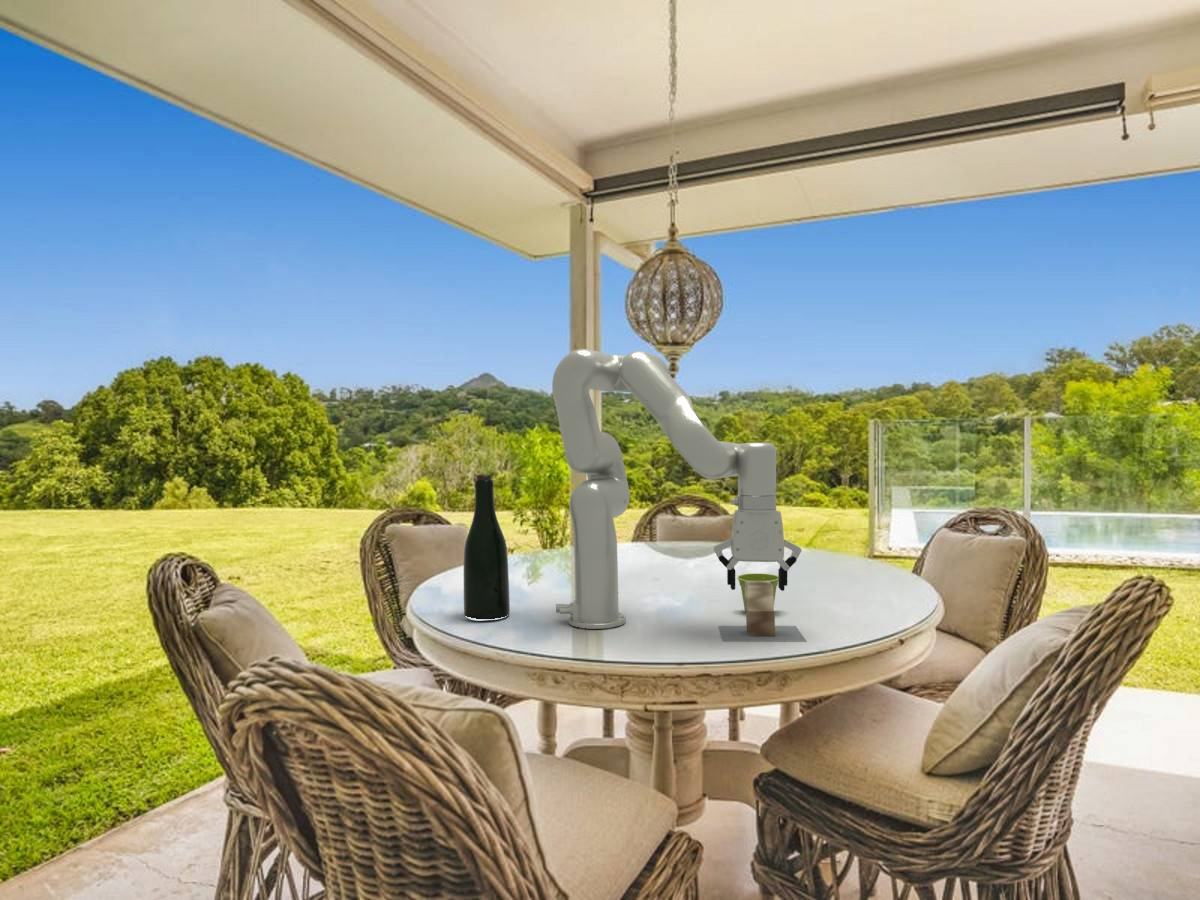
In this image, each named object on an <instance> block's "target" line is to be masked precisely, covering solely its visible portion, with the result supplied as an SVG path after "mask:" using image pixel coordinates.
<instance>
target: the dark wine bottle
mask: <svg viewBox="0 0 1200 900" xmlns="http://www.w3.org/2000/svg"><path fill="white" fill-rule="evenodd" d="M473 485H474V486H473V487H474V495H475V496H474V511H473V512H474V513H473V517H472V521H471V524H470V527H469V530H468V534H467V537H466V539H465V544H464V549H463V615H465V616H467V617H471V618H476V619H495V618H501V617H505V616H507V615H508V616H510V611H511V606H510V602H511V601H510V579H509V560H508V559H509V558H508V557H509V556H508V548H507V546H508V545H507V541H506V538H505V536H504V533H503V531H502V527H501V526H500V523H499V520H498V518H497V513H496V508H495V497H494V496H495V495H494V487H495V484H494V479H492V475H491V474H486V473H483V474H477V475H476V480H475V481H474V484H473ZM465 616H464V617H465ZM508 616H507V617H508Z"/></svg>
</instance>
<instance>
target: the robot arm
mask: <svg viewBox="0 0 1200 900" xmlns="http://www.w3.org/2000/svg"><path fill="white" fill-rule="evenodd" d="M551 383H552V385H551V386H552V387H551V390H552V396H553V397H552V398H553V401H554V405H555V409H556V413H557V419H558V425H559V430H560V435H561V441H562V444H563V449H564V456H565V459H566V463H567V465H568V466H569V468H570V470H572V471H573V472H576V473H578V474H582V475H583V474H584V475H586V476H587V479H586V480H583V481H582V482H580V483H579V484H577V485H576V486H575V487H574V489H573V490H572V492H571V495H570V497H569V504H568V505H569V514H570V519H571V526H572V532H573V535H572V536H573V552H574V555H573V556H574V557H573V558H574V591H575V592H574V593H575V595H574V596H575V600H574V601H573V602H570V603H569V604H566V603H565V604H564V603H555V613H559V615H567V614H568V615H569V614H570V615H569V617H568V624H569V625H570V626H572V627H574V626H575V628H578V627H579V629H585V628H586V630H602V629H611V628H616V627H620V626H623V625H624V624H625V623H626V621H627V619H626V615H625V614H623V613H621V612H620V611H619V610H620V609H619V576H618V575H619V572H618V571H619V570H618V569H619V568H618V563H619V561H618V541H617V538H618V537H617V532H616V527H615V526H616V525H615V522H614V518H617V517H620V516H621V515H623V514H624V513H625V512H626V510H627V509H628V507H629V504H630V499H631V498H630V495H631V493H630V486H629V483H628V482H629V481H628V478H627V472H626V468H625V465H624V464H625V463H624V459H623V453H622V451H621V448H620V446H619V443H618V441H617V440H616V439H615V437H613V435H611V434H610V433H608V432H604V431H601V429H600V427H599V422H598V418H597V411H596V407H595V405H594V402H593V400H592V398H591V396H590V390H595V391H602V392H618V393H619V392H620V393H623V392H624V393H631V394H632V395H633V397H635V399H636V400H638V402H639V403H640V404H641V405H642V406H643V408H645V409H646V410H647V412H648V413H649V414H650V415H651V417H653V419H655V421H656V422H657V423H658V424H659V425H660V426H659V427H660V428H661V430H662V432H663V433H664V434H665V436H666V437H667V438H668V440H669V442H670V443H671V445H672V446H673V448H674V449H675V450H676V452H677V453H679V454H680V455H681V457H682V459H684V460H685V461H686V462H687V463H688V465H689V466H690V467H691V468H692V469H693V470H694V471H695V472H696V473H697V474H698V475H700V476H701V477H703V478H706V480H707V479H708V480H718V479H724V478H730V477H737V496H736V497H731V498H730V505H731V506H732V505H734V506H736V507H737V508H738V509H736V510H734V513H733V520H732V526H731V537H730V538H729V539H726V540H724V541H723V542H721V543H718V544H716V545H715V546H713V552H714V553H715V554H716V557H717V559H718V561H719V562H720V563H721V564H722V565H723V566H724V567H725V568H726V569H727V571H726V573H727V574H726V575H727V576H726V577H727V579H726V581H727V582H726V583H727V585H728V586H730V590H731V591H734V590H736V569H735V566H736V565H737V564H738V563H739V562H749V563H751V562H753V563H755V562H756V563H757V562H758V563H759V562H760V563H761V562H762V563H764V562H765V563H776V562H777V564H778V565H779V568H778V569H777V570H778V575H777V576H778V585H777V587H778V589H779V590H780V591H782V592H784V591H785V587H787V586H788V571H789V570H790V568H791V567H792V566H794V564H796V562H797V560H798V558H799V556H800V554H801V553H802V548H801V547H800V546H798V545H796V544H794V543H792V542H790V541H788V540H786V539H784V538H785V535H784V525H783V518H782V513H781V511H780V510H777V448H776V446H775V445H774V444H773V443H772V442H771V443H770V442H745V443H744V442H743V443H736V442H732V441H731V442H729V441H719V440H718V439H717V438H716V437H715V436H714V435H713V434H712V433H711V432H710V430H709V429H708V428H707V427H706V425H704V424H703V423H702V421H701V420H700V418H699V417H698V416H697V414H696V412H695V410H694V406H693V401H692V398H691V397H690V395H689V393H687V392H686V391H685V390H684V389H683V388H682V386H681V385H680V384H679V383H678V382H676V380H675V379H674V378H673V377H672V376H671V375H670V374H669V369H668V366H667V364H666V362H665V361H664V360H663V358H661V357H659V356H658V355H656V354H653V353H650V352H646V351H644V350H636V351H632V352H630V353H628V354H626V355H625V354H624V355H623V354H610V353H609V354H608V353H604V352H601V351H597V350H593V349H590V348H589V349H588V348H579V349H575V350H573V351H571V352H569V353H568V354H565V356H564V357H563V358H562V359H561V360H560V362H559V363H558V365H557V366H556V368H555V370H554V373H553V377H552V382H551ZM729 547H730V549H731V550H730V551H731V557H730V558H729V559H727V557H726V556H725V555H724V553H723V550H726V549H728V548H729ZM785 548H787V549H788V550H790V551H791V554H790V556H789V557H788V558H787V559H785V560H784V558H785Z"/></svg>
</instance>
